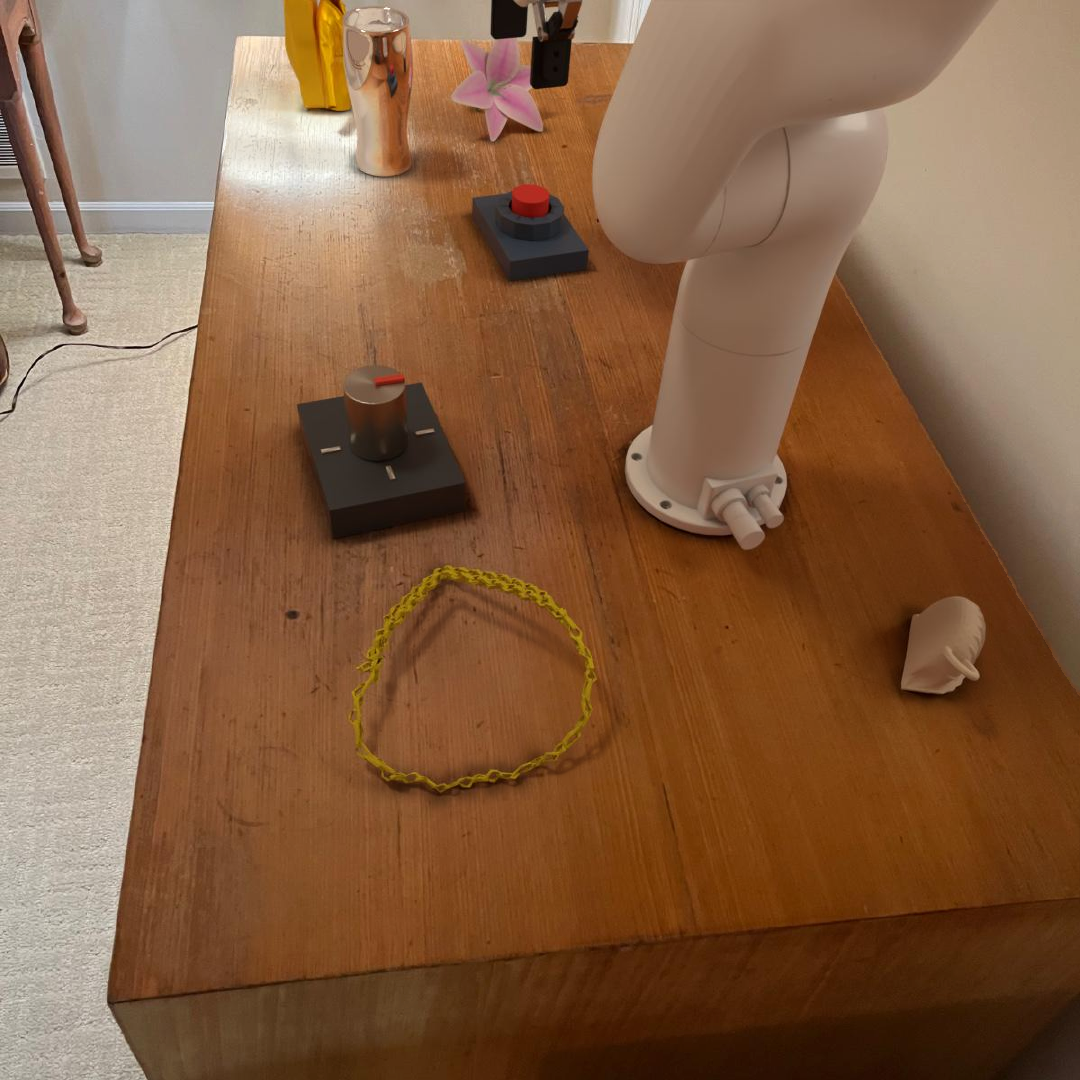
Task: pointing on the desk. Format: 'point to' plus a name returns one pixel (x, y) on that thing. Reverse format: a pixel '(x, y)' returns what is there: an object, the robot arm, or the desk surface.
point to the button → (530, 201)
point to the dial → (376, 412)
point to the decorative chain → (411, 602)
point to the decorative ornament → (943, 646)
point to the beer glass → (379, 86)
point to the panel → (381, 469)
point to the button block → (529, 238)
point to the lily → (498, 86)
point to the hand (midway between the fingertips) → (527, 60)
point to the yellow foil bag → (317, 51)
